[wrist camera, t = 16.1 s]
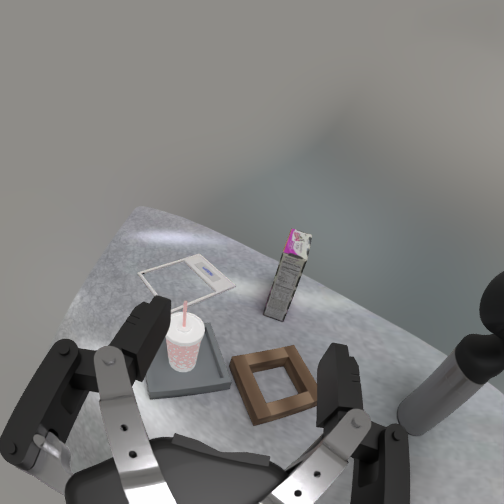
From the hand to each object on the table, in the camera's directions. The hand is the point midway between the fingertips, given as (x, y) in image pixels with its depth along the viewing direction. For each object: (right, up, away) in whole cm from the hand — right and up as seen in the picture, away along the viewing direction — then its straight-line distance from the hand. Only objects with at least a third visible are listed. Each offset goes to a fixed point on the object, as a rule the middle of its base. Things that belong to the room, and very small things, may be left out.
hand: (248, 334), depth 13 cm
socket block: (+4, -19, +29) cm, 35 cm away
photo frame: (-15, -3, +49) cm, 51 cm away
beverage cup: (-11, -14, +29) cm, 35 cm away
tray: (-12, -15, +30) cm, 35 cm away
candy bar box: (+6, -8, +49) cm, 50 cm away
